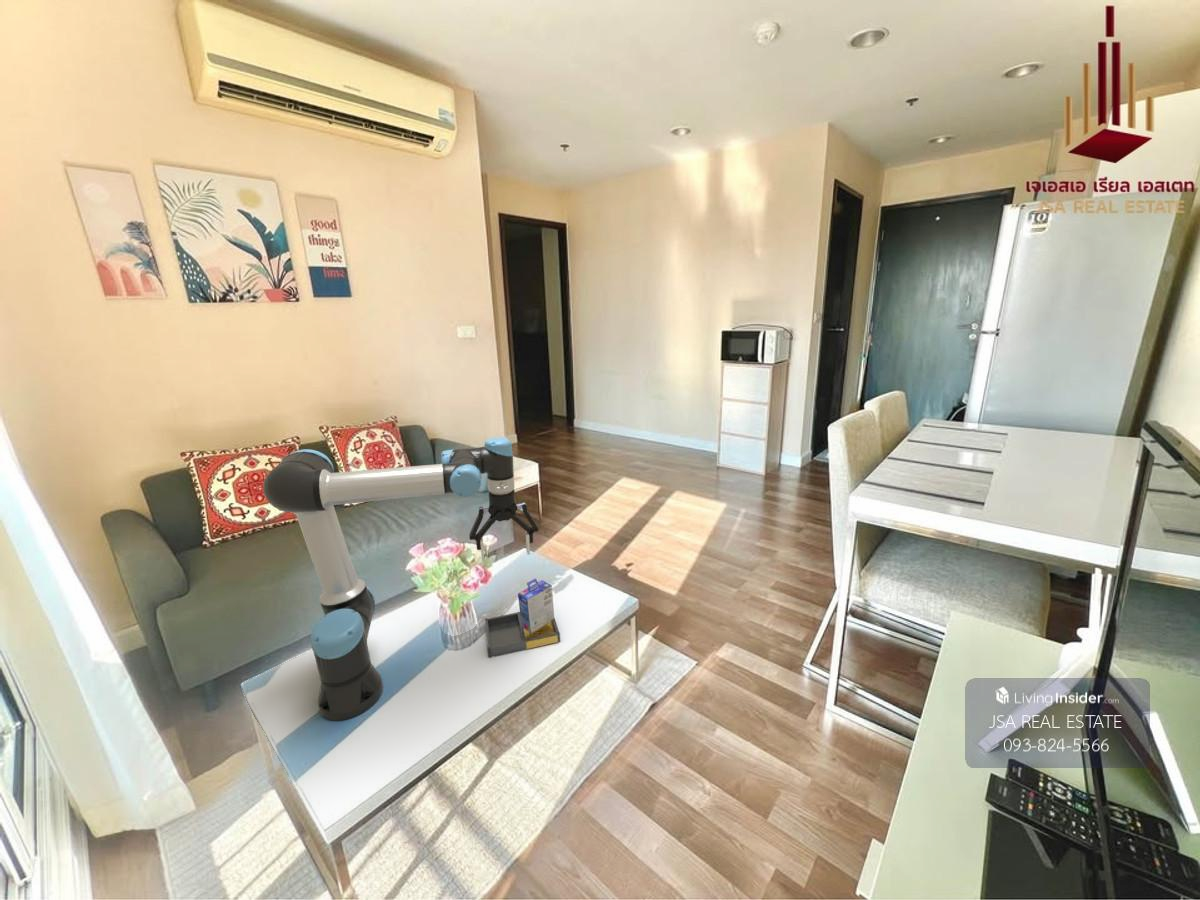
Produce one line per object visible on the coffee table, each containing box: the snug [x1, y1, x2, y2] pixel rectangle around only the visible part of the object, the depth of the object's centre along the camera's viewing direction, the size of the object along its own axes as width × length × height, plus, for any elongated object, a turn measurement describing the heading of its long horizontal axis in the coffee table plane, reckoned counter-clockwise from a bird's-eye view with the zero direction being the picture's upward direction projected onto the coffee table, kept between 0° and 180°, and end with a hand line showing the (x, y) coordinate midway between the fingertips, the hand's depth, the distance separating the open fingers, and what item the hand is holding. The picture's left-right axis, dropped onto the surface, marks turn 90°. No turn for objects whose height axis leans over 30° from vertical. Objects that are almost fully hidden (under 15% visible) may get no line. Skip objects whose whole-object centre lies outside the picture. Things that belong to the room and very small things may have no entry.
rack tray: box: [484, 611, 561, 658], centre depth 145 cm, size 21×15×3 cm
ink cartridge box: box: [517, 578, 555, 633], centre depth 144 cm, size 10×6×14 cm, turn 136°
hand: (505, 555), depth 141 cm, fingers open, 13 cm apart
